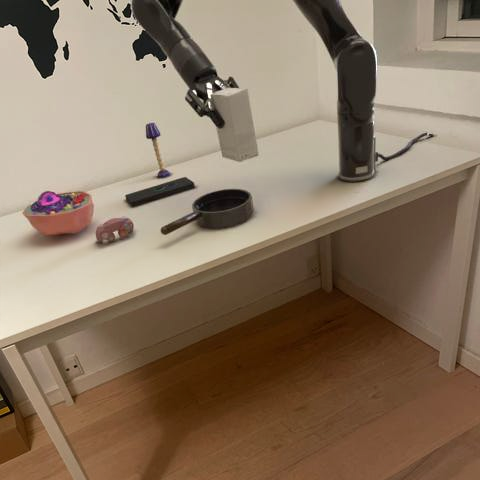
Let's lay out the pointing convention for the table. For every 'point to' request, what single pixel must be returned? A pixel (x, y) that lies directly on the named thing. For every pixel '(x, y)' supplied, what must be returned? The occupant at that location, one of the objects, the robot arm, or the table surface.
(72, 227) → the cell model
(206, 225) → the pan
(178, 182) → the smart home device
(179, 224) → the pan handle
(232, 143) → the cosmetic box
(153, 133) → the toy lamp
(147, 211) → the table surface
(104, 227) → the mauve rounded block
